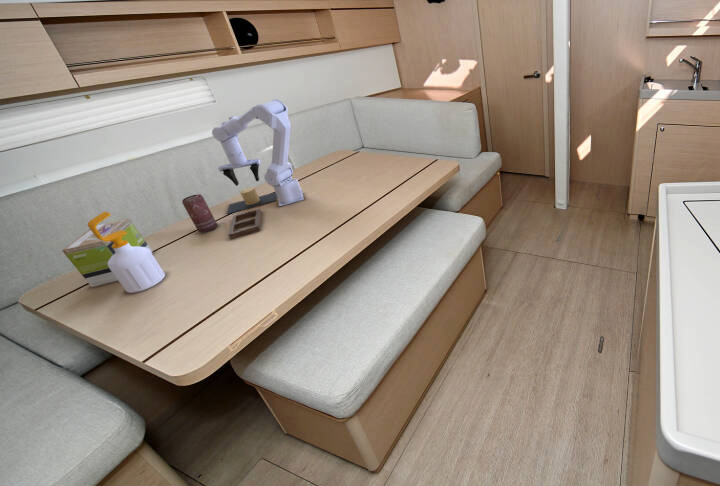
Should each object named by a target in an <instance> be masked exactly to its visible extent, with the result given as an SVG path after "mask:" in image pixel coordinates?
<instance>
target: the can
mask: <svg viewBox="0 0 720 486" xmlns="http://www.w3.org/2000/svg"><path fill="white" fill-rule="evenodd" d="M181 201H182V202H181V203H182V205H183V207H184V209H185V211H186V213H187V215H188V216H189V218H190V220H191V221H192V223H193V225H194V227H195V228H196V230H197V232H198V233H200V234H206V233H209V232H212V231H214V230H215V229H217V228H218V222H217V221H216V219H215V217H214V215H213V213H212V210H210V208H209V206H208V204H207V202H206V200H205V198H204V197H203V195H202V194H200V193H197V194H193V195H190V196H187V197H185V198H183V199H182V200H181Z"/></svg>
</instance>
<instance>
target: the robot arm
mask: <svg viewBox="0 0 720 486" xmlns="http://www.w3.org/2000/svg"><path fill="white" fill-rule="evenodd" d="M254 120H260V122H262V123H263V124H265V125H267V126H268V127H269V128H272V129H273V136H272V137H273V138H272V139H273V140H272V150H271V151H272V154H271V163H270V164H269V166H268V167H267V169H266V172H265V173H264V177H263V178H264V180H265V182H266V183H267V184H268V185H269V186H271V187H273V189H274V193H275V192H276V195H277V199H278V207H283V206H287V205H291V204H294V203H297V202H301V201H304V192H303V189H302V188H301V185H300V182H299V180H298V179H297V178H293V176H294V169H293V167H292V163H290V162H289V152H290V142H291V141H290V139H291V128H292V126H291V122H290V119H289V108H288V107H287V105H286V104H285V103H284V102H283V101H282V100H280V99H278V98H277V99H275V98H274V99H272V100H270V101H267V102H264V103H260V104H257V105H255V106H252V107H251V108H249V109H248V110H247V111H245V112H244V113H243V114H241V115H240V116H239V115H235V116H234V115H231V116H230V117H228V120H226V121H224V122H222V123H221V125H219V126H215V127H213V129H212V130H211V134H212V136H213V139H215V140H216V141H218V142H220V145H221V147H222V149H223V151H224V153H225V156H226V158H227V161H228V163H227V164H224V165H223V164H222V165H219V166H218V167H217V169H218V172H219V173H220V172H221V173H222V174H223V176H225V177H227V178H228V179H229V180H230V181H231V182H232V183H233V184H234V185H235V186H236V187H237V186H239V184H240V183H239V180H238V178H237V177H236V174H235V171H234V170H235V169H240V168H244V167H249V169H250V171H251V172H252V175H253V177H254V179H255V181H256V182H259V181H260V177H259V167H260V165H261V159H260V158H255V159H254V158H253V159H247V158H246V155H245V153H244V150H243V148H242V147H241V144H240V142H239V136H238V135H239V134H240V133H242V132H243V131H245V130H246V129H247V128H248V124H249V123H251V122H252V121H254Z"/></svg>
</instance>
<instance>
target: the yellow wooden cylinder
mask: <svg viewBox="0 0 720 486" xmlns="http://www.w3.org/2000/svg"><path fill="white" fill-rule="evenodd" d="M239 193H240V196H241V197H242V199H243V201H245V203H246V205H252V204H255V203H257V202H259V201H260V200H259V197H260V196H259V195H258V193H257V190H256V188H255V187H247V188H244V189H242V190H241V191H240V192H239Z"/></svg>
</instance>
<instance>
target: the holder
mask: <svg viewBox="0 0 720 486" xmlns="http://www.w3.org/2000/svg"><path fill="white" fill-rule="evenodd" d="M262 213H263V212H262V210H261V208H260V207H259V208H256V209H251V210H249V211H245V212H241V213H238V214H234V215H232V219H231V221H230V222H231V224H230V227H229V231H228V237H229V240H233V239H237V238H240V237H243V236H247V235H250V234H253V233H256V232H260V231H261V221H262ZM247 218H248V219H247ZM251 225H253V226H251ZM248 226H249V227H248ZM244 227H246V228H244ZM240 228H242V229H240ZM237 229H240V230H237Z"/></svg>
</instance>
